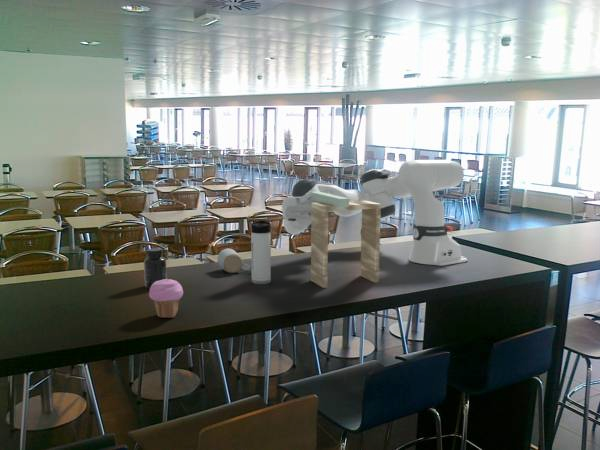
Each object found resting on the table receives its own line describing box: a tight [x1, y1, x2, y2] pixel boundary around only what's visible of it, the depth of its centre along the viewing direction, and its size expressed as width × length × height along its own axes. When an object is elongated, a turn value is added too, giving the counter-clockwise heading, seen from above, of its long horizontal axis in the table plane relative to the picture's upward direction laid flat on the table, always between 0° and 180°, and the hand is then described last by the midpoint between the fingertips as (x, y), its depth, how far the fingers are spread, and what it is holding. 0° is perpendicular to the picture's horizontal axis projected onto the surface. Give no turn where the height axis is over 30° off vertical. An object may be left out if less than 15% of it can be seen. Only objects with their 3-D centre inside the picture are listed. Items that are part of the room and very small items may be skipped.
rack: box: [310, 201, 381, 289], centre depth 181 cm, size 20×10×26 cm, turn 111°
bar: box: [310, 191, 349, 207], centre depth 180 cm, size 3×24×2 cm, turn 21°
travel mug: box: [250, 219, 272, 285], centre depth 180 cm, size 6×7×20 cm
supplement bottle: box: [143, 247, 168, 290], centre depth 174 cm, size 7×7×12 cm
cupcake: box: [148, 278, 184, 319], centre depth 146 cm, size 9×9×10 cm
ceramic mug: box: [217, 247, 250, 274], centre depth 196 cm, size 11×8×8 cm
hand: (318, 195), depth 187 cm, fingers open, 6 cm apart
